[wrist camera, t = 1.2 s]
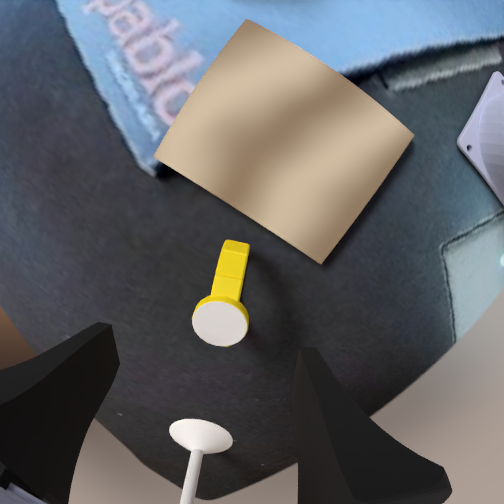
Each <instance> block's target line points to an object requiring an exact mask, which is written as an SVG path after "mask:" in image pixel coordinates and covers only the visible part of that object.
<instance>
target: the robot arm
mask: <svg viewBox="0 0 504 504" xmlns="http://www.w3.org/2000/svg"><path fill="white" fill-rule="evenodd" d="M501 81H502V82H501ZM502 83H503V85H502ZM457 145H458V147H459V149H460V150H461V151H462V152H463V153H464V154H465V156H466V157H467V158H468V159H469V160H470V162H471V163H472V164H473V165H474V167H475V168H476V169H477V170H478V172H479V173H480V174H481V175H482V177H483V178H484V179H485V181H486V182H487V183H488V185H489V186H490V187H491V189H492V190H493V191H494V193H495V194H496V196H497V197H498V198H499V200H500V201H501V203H502V204H503V206H504V77H503V76H502V74H501V73H500V72H494V73H493V74H492V76H491V78H490V81H489V83H488V85H487V87H486V89H485V90H484V92H483V94H482V96H481V98H480V100H479V102H478V104H477V106H476V108H475V109H474V111H473V113H472V115H471V117H470V118H469V120H468V122H467V124H466V125H465V127H464V129H463V131H462V132H461V134H460V136H459V137H458V140H457ZM467 146H469V151H467ZM119 365H120V362H119V357H118V353H117V349H116V344H115V339H114V335H113V330H112V325H111V324H106V323H101V322H98V323H96V324H94V325H92V326H90V327H88V328H86V329H85V330H83V331H81V332H79V333H78V334H76V335H74V336H73V337H71V338H69V339H67V340H66V341H64V342H62V343H61V344H59V345H57V346H55V347H53V348H51V349H50V350H48V351H46V352H44V353H42V354H40V355H38V356H36V357H34V358H32V359H30V360H28V361H25V362H22V363H20V364H17V365H15V366H12V367H8V368H5V369H2V370H0V504H68V502H69V495H70V488H71V483H72V479H73V475H74V470H75V466H76V463H77V459H78V456H79V453H80V450H81V446H82V444H83V441H84V438H85V436H86V433H87V431H88V428H89V426H90V424H91V422H92V420H93V418H94V417H95V415H96V413H97V411H98V409H99V407H100V406H101V404H102V402H103V400H104V398H105V396H106V395H107V393H108V391H109V389H110V387H111V385H112V383H113V381H114V378H115V376H116V373H117V370H118V368H119ZM291 411H292V419H293V427H294V434H295V442H296V450H297V459H298V504H442V503H444V502H445V501H446V500H447V499H448V498H449V496H450V495H451V493H452V488H451V485H450V482H449V479H448V476H447V474H446V472H445V470H444V468H443V467H442V466H440V465H438V464H436V463H434V462H432V461H430V460H428V459H426V458H424V457H422V456H420V455H418V454H417V453H415V452H413V451H412V450H410V449H409V448H407V447H405V446H404V445H402V444H401V443H399V442H398V441H397V440H395V439H394V438H393V437H392V436H390V435H389V434H388V433H386V432H385V431H384V430H382V429H381V428H380V427H379V426H378V425H377V424H376V423H375V422H373V421H372V420H371V419H370V418H369V417H368V416H367V415H366V414H365V413H364V412H363V411H362V410H361V408H360V407H359V406H358V405H357V404H356V403H355V402H354V400H353V399H352V398H351V397H350V396H349V394H348V393H347V392H346V391H345V389H344V388H343V387H342V385H341V384H340V383H339V381H338V380H337V379H336V377H335V376H334V374H333V373H332V371H331V370H330V368H329V367H328V365H327V364H326V362H325V361H324V359H323V358H322V356H321V354H320V353H319V351H318V350H317V349H316V348H305V347H300V348H299V352H298V357H297V362H296V367H295V371H294V376H293V380H292V385H291Z"/></svg>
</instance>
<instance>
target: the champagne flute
mask: <svg viewBox="0 0 504 504" xmlns="http://www.w3.org/2000/svg"><path fill="white" fill-rule="evenodd" d="M169 431H170V435H171V436H172V438H173V439H174V440H175V441H176V442H177V443H179V444H180V445H182V446H183V447H185V448H187V449H188V450H190V451H192V452H191V456H190V461H189V465H188V469H187V474H186V478H185V483H184V487H183V492H182V496H181V500H180V504H193V503H194V498H195V493H196V488H197V483H198V478H199V472H200V467H201V462H202V457H203V454H209V453H218V452H222V451H225V450H227V449H228V448H230V447H231V445H232V443H233V440H232V437H231V435H230V434H229V433H228V431H226V430H225V429H224V428H222V427H220V426H219V425H216V424H214V423H211V422H208V421H204V420H198V419H183V420H179V421H176V422H174V423H173V424H172V425H171V426H170V429H169Z"/></svg>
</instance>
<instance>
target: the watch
mask: <svg viewBox="0 0 504 504" xmlns="http://www.w3.org/2000/svg"><path fill="white" fill-rule="evenodd" d="M249 248H250V245H249V244H246V243H241V242H236V241H232V240H226V241H225V242H224V245H223V248H222V250H221V254H220V258H219V261H218V265H217V269H216V275H215V277H214V282H213V287H212V292H211V296H207V297H206V298H204V299H202V300H201V301H200V302H199V303H198V305H197V306H196V308H195V311H194V314H193V317H192V323H193V328H194V330H195V332H196V333H197V335H198V336H199V337H200V338H201V339H203V340H204V341H206V343H210V344H213V345H216V346H225V347H228V346H230V345H233V344H235V343H237V342H239V341H240V340H241V339H242V338H243V337H244V336H245V335H246V333H247V331H248V324H249V316H248V313H247V310H246V308H245V307H244V306H243V304H242V303H241V302H239V300H240V295H241V290H242V285H243V280H244V275H245V270H246V265H247V259H248V254H249Z"/></svg>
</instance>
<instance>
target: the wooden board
mask: <svg viewBox="0 0 504 504" xmlns="http://www.w3.org/2000/svg"><path fill="white" fill-rule="evenodd" d="M413 137H414V134H412V133H411V132H410V131H409V130H408V129H407V128H406V127H405V126H404V125H403V124H402V123H401V122H399V121H398V120H397V119H396V118H395V117H394V116H393V115H391V114H390V113H389V112H388V111H387V110H386V109H384V108H383V107H382V106H381V105H380V104H378V103H377V102H376V101H375V100H373V99H372V98H371V97H370V96H368V95H367V94H366V93H365V92H363V91H362V90H361V89H359V88H358V87H357V86H356V85H354V84H353V83H352V82H350V81H349V80H347V79H346V78H345V77H343V76H342V75H341V74H339V73H338V72H336V71H335V70H333V69H332V68H330V67H329V66H328V65H326V64H325V63H323V62H322V61H320V60H319V59H317V58H315V57H314V56H312V55H311V54H309V53H308V52H306V51H304V50H303V49H301V48H299V47H298V46H296V45H294V44H293V43H291V42H289V41H288V40H286V39H284V38H282V37H281V36H279V35H277V34H275V33H273V32H272V31H270V30H268V29H266V28H264V27H262V26H260V25H258V24H256V23H254V22H252V21H250V20H248V19H246V20H245V21H244V22H243V23H242V25H241V26H240V27H239V28H238V30H237V31H236V32H235V33H234V35H233V36H232V37H231V39H230V40H229V41H228V42H227V44H226V45H225V46H224V48H223V49H222V50H221V52H220V53H219V54H218V56H217V57H216V59H215V60H214V61H213V63H212V64H211V65H210V67H209V68H208V70H207V71H206V73H205V74H204V75H203V77H202V78H201V80H200V81H199V83H198V84H197V86H196V87H195V89H194V90H193V92H192V93H191V95H190V96H189V98H188V99H187V101H186V102H185V104H184V106H183V107H182V109H181V110H180V112H179V114H178V115H177V117H176V118H175V120H174V122H173V123H172V125H171V127H170V128H169V130H168V132H167V133H166V135H165V137H164V139H163V140H162V142H161V144H160V146H159V147H158V149H157V151H156V153H155V154H154V156H153V157H154V158H156V159H158V160H159V161H161V162H163V163H164V164H166V165H168V166H169V167H171V168H172V169H174V170H176V171H177V172H179V173H180V174H182V175H184V176H185V177H187V178H189V179H190V180H192V181H193V182H195V183H197V184H198V185H200V186H201V187H203V188H204V189H206V190H208V191H209V192H211V193H212V194H214V195H216V196H217V197H219V198H220V199H222V200H223V201H225V202H227V203H228V204H230V205H231V206H233V207H234V208H236V209H238V210H239V211H241V212H242V213H244V214H245V215H247V216H248V217H250V218H251V219H253V220H255V221H256V222H258V223H259V224H261V225H262V226H264V227H265V228H267V229H268V230H270V231H271V232H273V233H274V234H276V235H278V236H279V237H281V238H282V239H284V240H285V241H287V242H288V243H290V244H291V245H293V246H294V247H296V248H297V249H299V250H300V251H302V252H303V253H305V254H306V255H308V256H309V257H311V258H312V259H314V260H315V261H317V262H318V263H320V264H322V262H323V261H324V260H325V259H326V257H327V256H328V255H329V253H330V252H331V251H332V250H333V248H334V247H335V246H336V244H337V243H338V242H339V240H340V239H341V238H342V236H343V235H344V234H345V233H346V231H347V230H348V229H349V227H350V226H351V225H352V223H353V222H354V221H355V219H356V218H357V217H358V215H359V214H360V212H361V211H362V210H363V208H364V207H365V206H366V204H367V203H368V202H369V200H370V199H371V197H372V196H373V195H374V193H375V192H376V190H377V189H378V188H379V186H380V185H381V183H382V182H383V181H384V179H385V178H386V176H387V175H388V173H389V172H390V171H391V169H392V168H393V166H394V165H395V163H396V162H397V160H398V159H399V157H400V156H401V154H402V153H403V152H404V150H405V149H406V147H407V146H408V144H409V143H410V141H411V140H412V138H413Z"/></svg>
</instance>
